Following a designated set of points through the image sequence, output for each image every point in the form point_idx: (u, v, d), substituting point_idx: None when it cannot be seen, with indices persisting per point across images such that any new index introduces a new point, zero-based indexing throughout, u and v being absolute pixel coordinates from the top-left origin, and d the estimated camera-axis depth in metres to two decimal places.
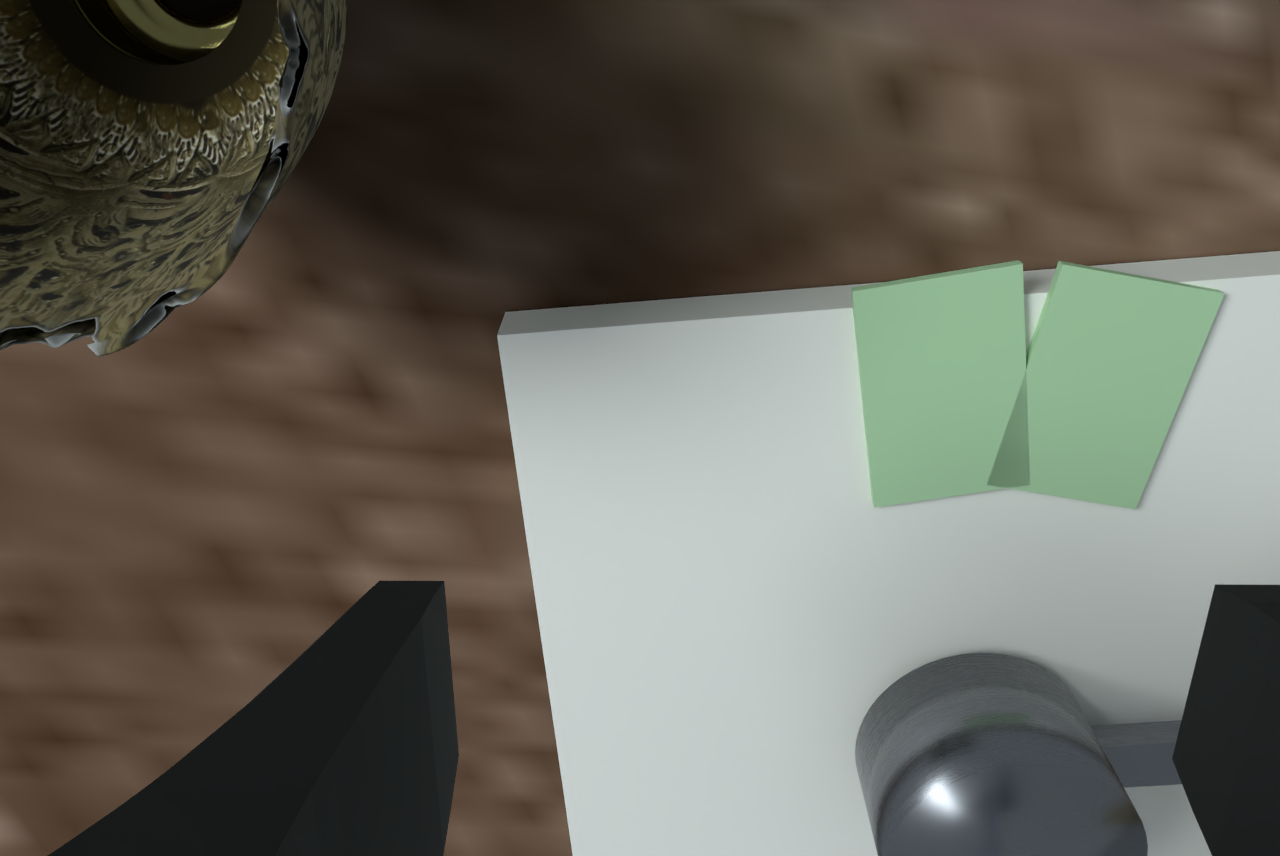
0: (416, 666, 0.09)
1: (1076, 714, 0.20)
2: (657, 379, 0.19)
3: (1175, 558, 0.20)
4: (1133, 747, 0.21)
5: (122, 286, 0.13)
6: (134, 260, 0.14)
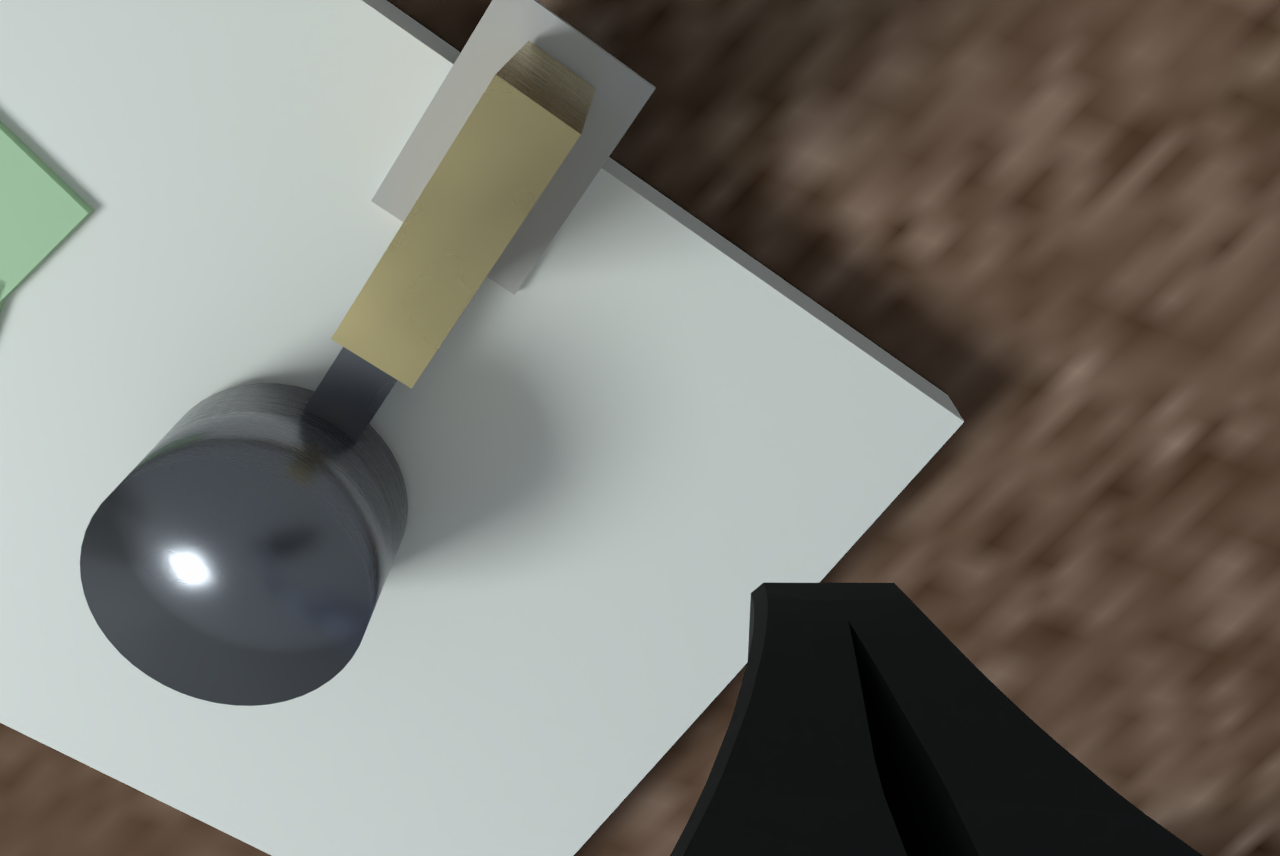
0: None
1: (221, 411, 0.18)
2: None
3: (185, 207, 0.18)
4: (325, 382, 0.18)
5: None
6: None
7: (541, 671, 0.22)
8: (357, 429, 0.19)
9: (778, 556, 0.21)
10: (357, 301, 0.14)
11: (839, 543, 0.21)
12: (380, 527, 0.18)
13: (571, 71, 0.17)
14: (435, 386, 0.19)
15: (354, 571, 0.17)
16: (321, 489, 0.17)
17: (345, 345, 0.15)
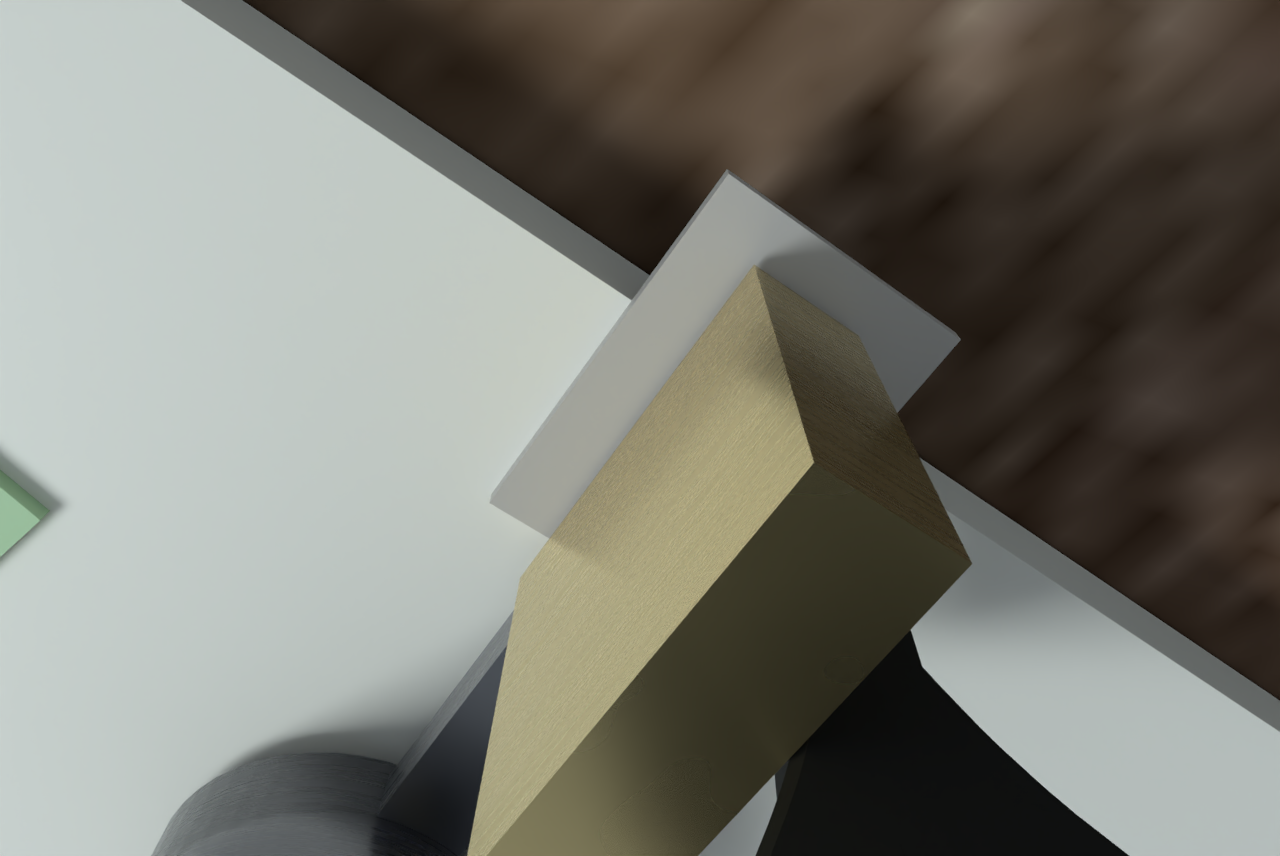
0: None
1: (250, 830, 0.11)
2: None
3: (194, 506, 0.12)
4: (411, 778, 0.12)
5: None
6: None
7: None
8: (461, 839, 0.12)
9: None
10: (513, 829, 0.08)
11: None
12: None
13: (821, 311, 0.10)
14: None
15: None
16: None
17: None
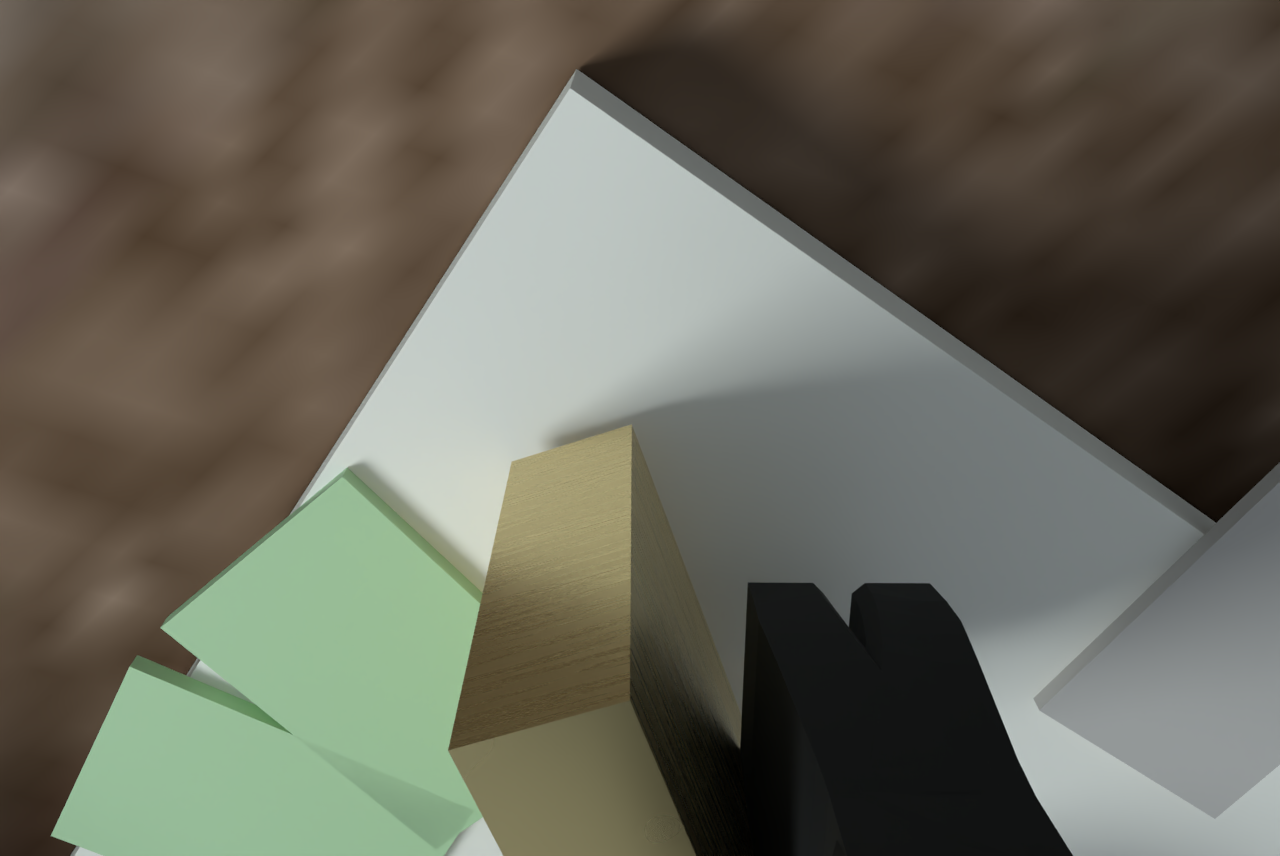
0: None
1: None
2: None
3: None
4: None
5: None
6: None
7: None
8: None
9: None
10: None
11: None
12: None
13: (587, 440, 0.11)
14: None
15: None
16: None
17: None
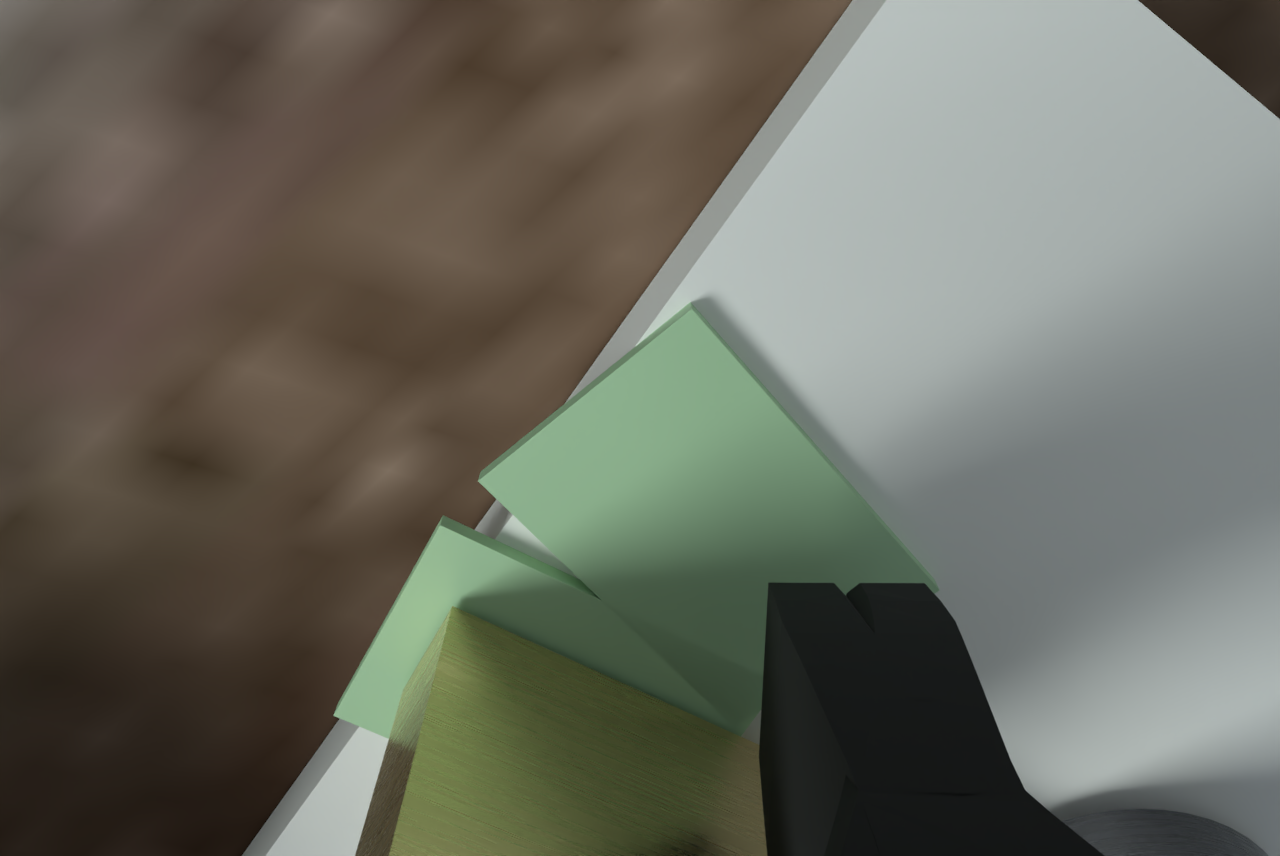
0: None
1: None
2: None
3: (1079, 573, 0.12)
4: None
5: None
6: None
7: None
8: None
9: None
10: None
11: None
12: None
13: (433, 640, 0.12)
14: None
15: None
16: None
17: None
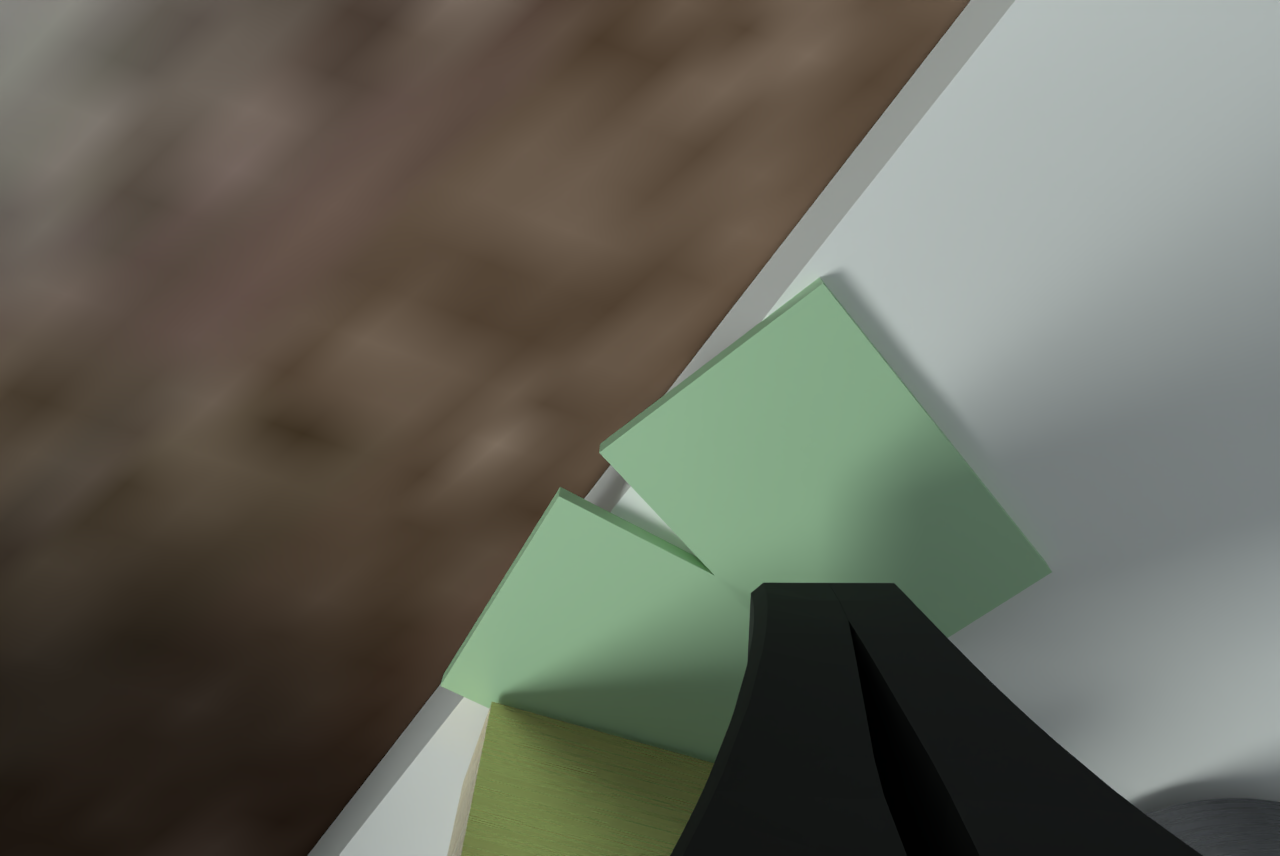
0: None
1: None
2: None
3: (1190, 558, 0.12)
4: None
5: None
6: None
7: None
8: None
9: None
10: None
11: None
12: None
13: (480, 735, 0.12)
14: None
15: None
16: None
17: None
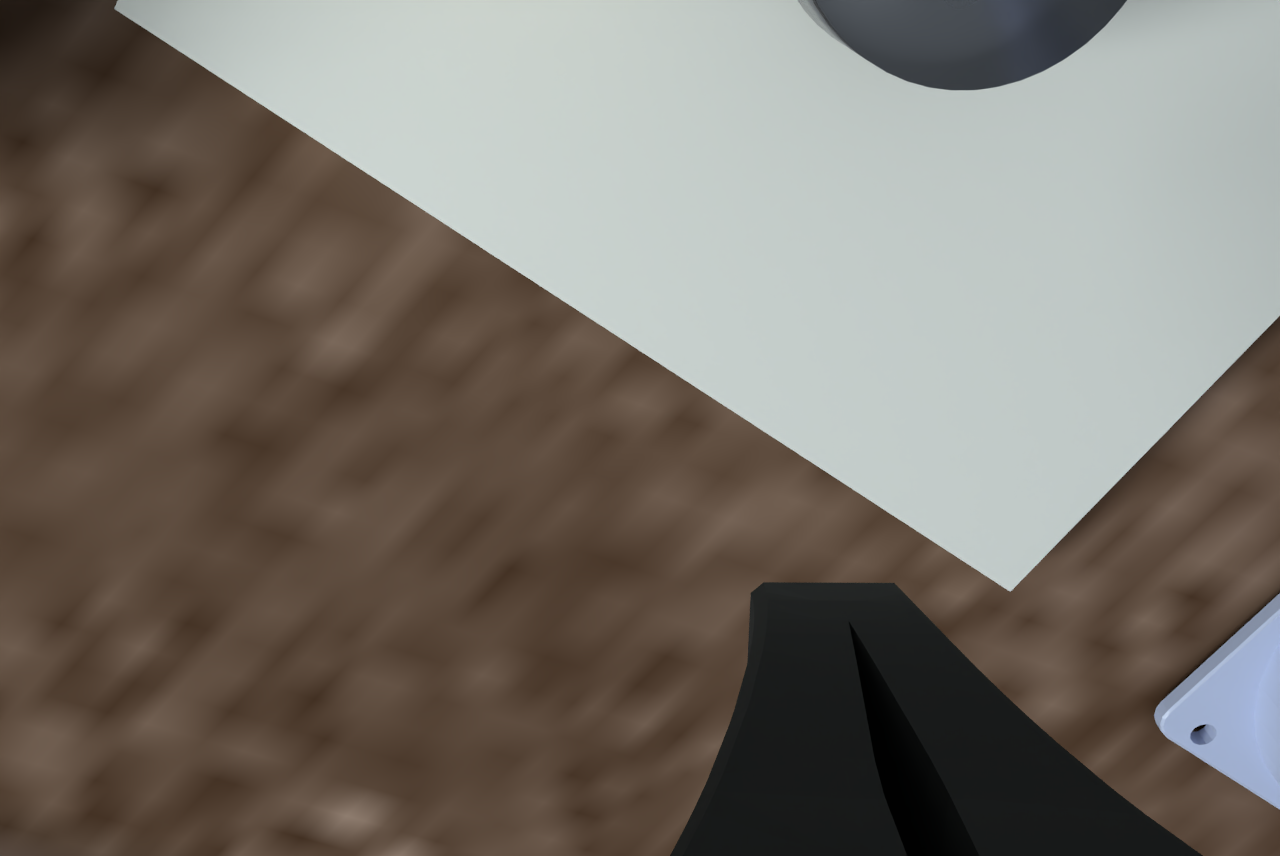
0: None
1: None
2: None
3: None
4: None
5: None
6: None
7: (1176, 173, 0.18)
8: None
9: None
10: None
11: None
12: None
13: None
14: None
15: None
16: None
17: None
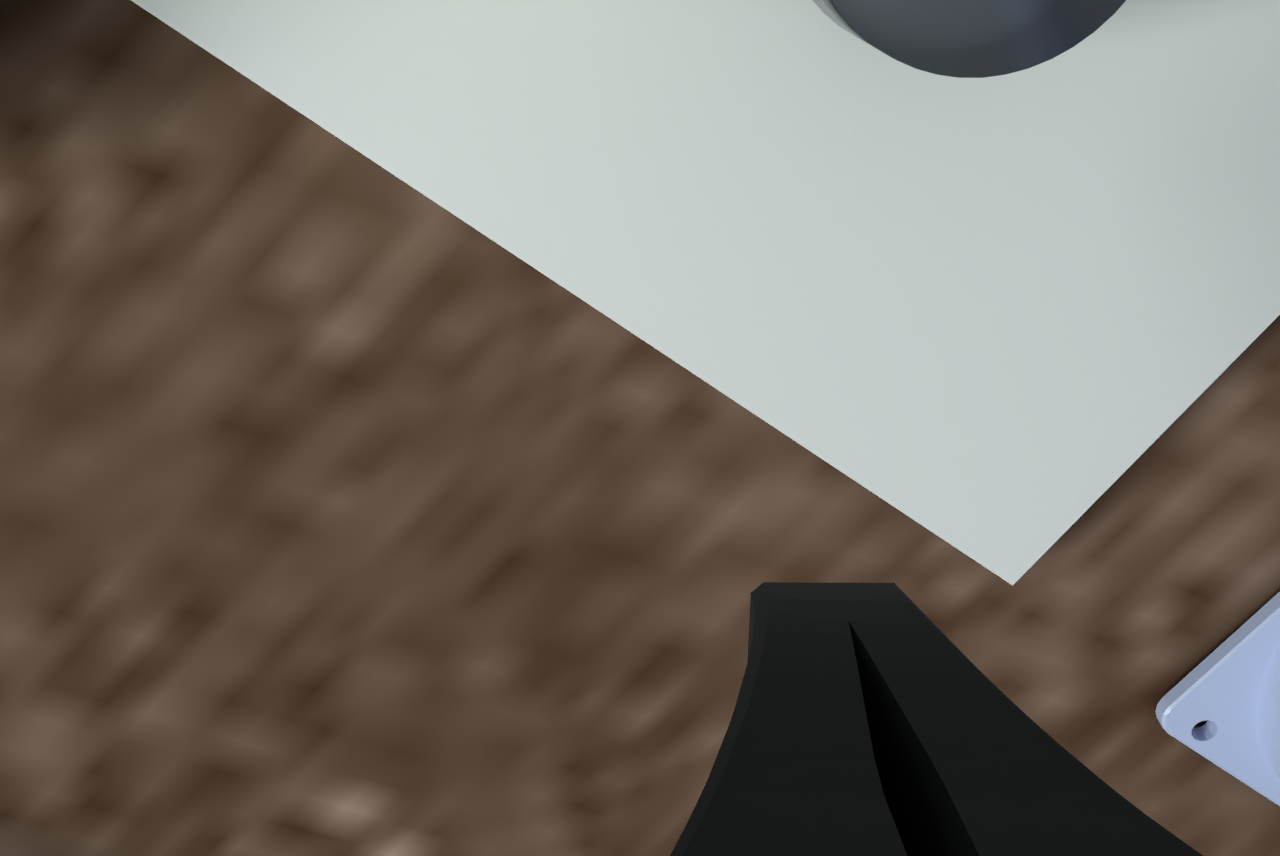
0: None
1: None
2: None
3: None
4: None
5: None
6: None
7: (1182, 166, 0.18)
8: None
9: None
10: None
11: None
12: None
13: None
14: None
15: None
16: None
17: None
